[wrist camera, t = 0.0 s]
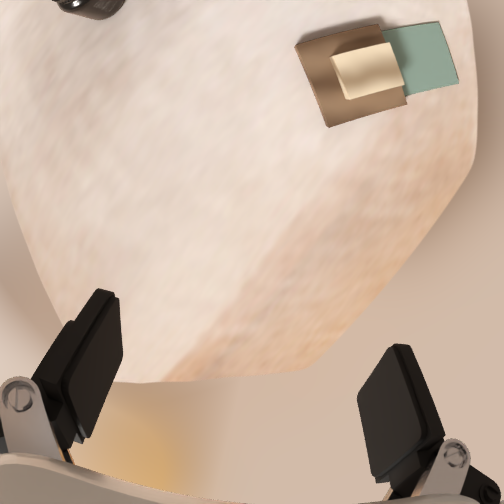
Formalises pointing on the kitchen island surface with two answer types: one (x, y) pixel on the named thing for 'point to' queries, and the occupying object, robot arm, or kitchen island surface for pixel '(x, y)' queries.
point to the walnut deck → (326, 80)
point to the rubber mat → (422, 57)
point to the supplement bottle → (91, 7)
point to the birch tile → (367, 70)
